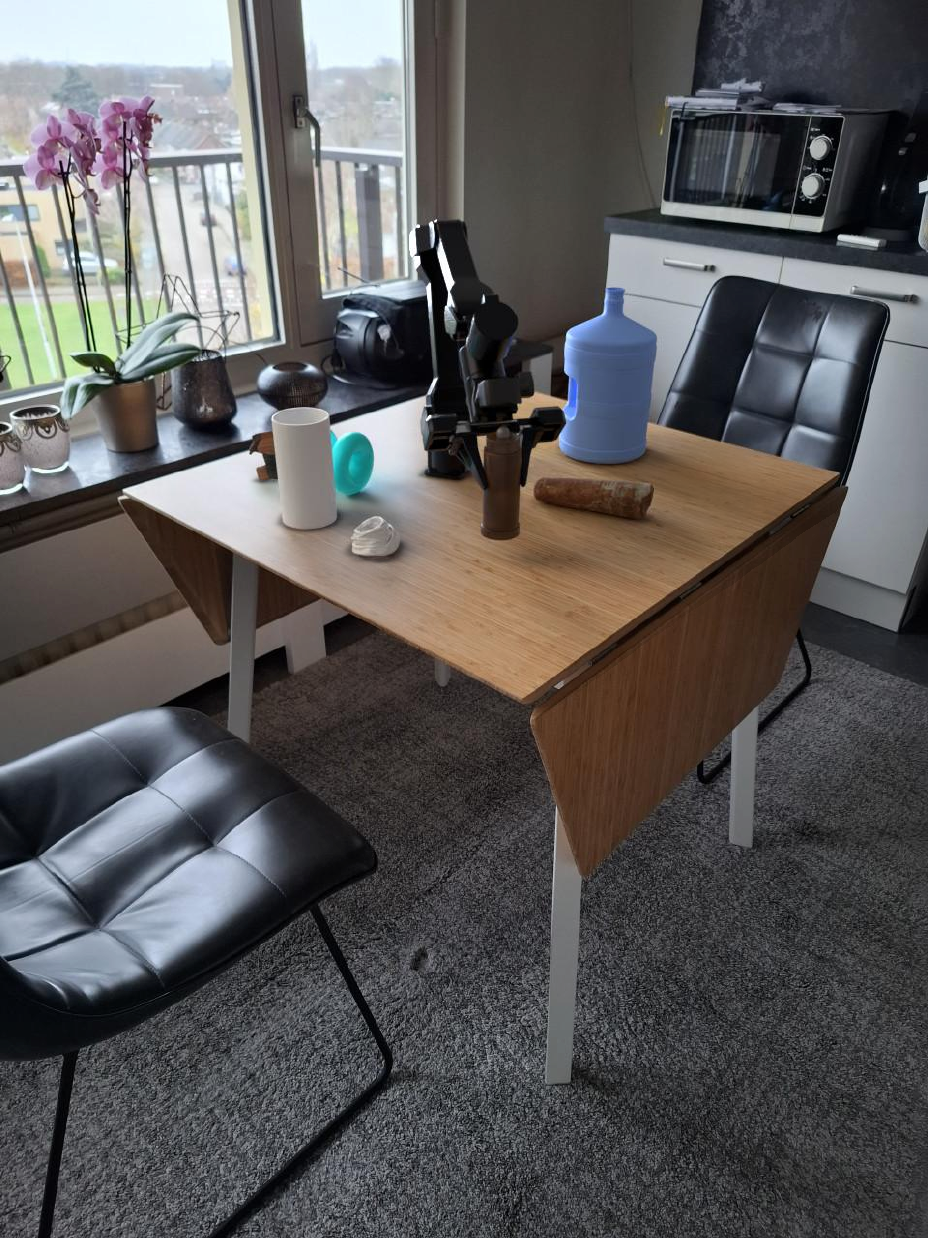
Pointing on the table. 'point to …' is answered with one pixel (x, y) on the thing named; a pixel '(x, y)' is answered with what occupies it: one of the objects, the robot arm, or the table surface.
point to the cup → (305, 467)
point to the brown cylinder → (597, 495)
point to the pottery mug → (265, 455)
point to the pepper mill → (501, 485)
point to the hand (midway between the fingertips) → (504, 487)
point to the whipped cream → (374, 538)
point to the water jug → (608, 386)
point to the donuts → (351, 462)
